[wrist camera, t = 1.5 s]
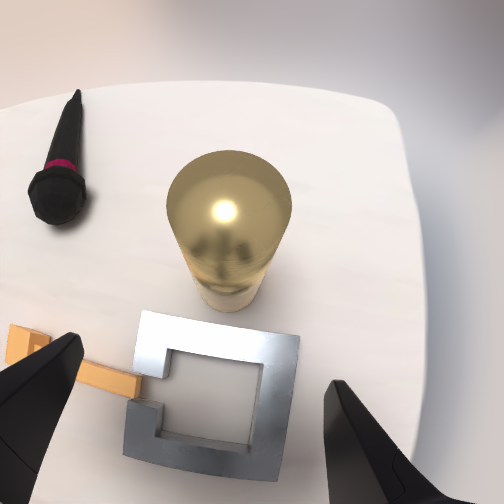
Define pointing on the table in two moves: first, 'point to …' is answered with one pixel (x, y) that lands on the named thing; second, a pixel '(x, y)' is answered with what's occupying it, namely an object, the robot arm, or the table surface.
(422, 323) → the table surface
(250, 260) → the ball
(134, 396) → the pin
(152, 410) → the frame
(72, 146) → the microphone
